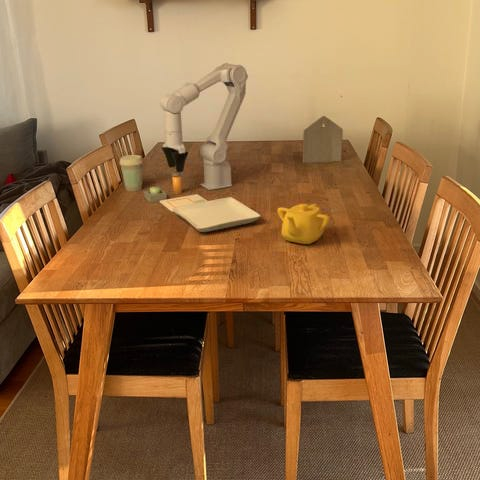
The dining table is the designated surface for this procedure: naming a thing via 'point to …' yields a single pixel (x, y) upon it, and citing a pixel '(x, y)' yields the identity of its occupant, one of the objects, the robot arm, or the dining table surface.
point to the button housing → (155, 196)
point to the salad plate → (216, 214)
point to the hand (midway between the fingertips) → (176, 169)
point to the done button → (154, 190)
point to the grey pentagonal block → (322, 142)
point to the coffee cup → (132, 172)
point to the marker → (176, 183)
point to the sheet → (182, 201)
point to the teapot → (303, 223)
